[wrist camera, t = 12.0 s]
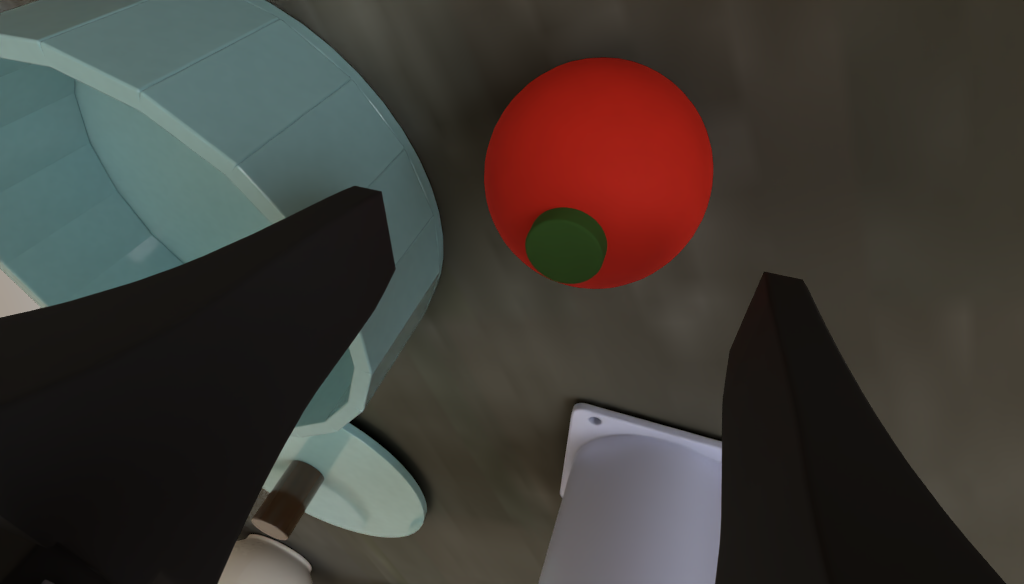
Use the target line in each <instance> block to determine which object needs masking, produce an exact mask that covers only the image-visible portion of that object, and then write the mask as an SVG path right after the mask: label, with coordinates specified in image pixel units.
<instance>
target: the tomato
mask: <svg viewBox="0 0 1024 584" xmlns="http://www.w3.org/2000/svg"><path fill="white" fill-rule="evenodd" d="M712 182H713V157H712V149H711V145H710V141H709V137H708V134H707V131H706V128H705V126H704V123H703V121H702V119H701V117H700V115H699V113H698V112H697V110H696V108H695V107H694V105H693V104H692V103H691V101H690V100H689V99H688V98H687V96H686V95H685V94H684V93H683V92H682V91H681V90H680V89H679V88H678V87H677V86H676V85H675V84H674V83H673V82H672V81H670V80H669V79H667V78H666V77H665V76H663V75H662V74H660V73H659V72H657V71H655V70H653V69H651V68H649V67H647V66H644V65H642V64H639V63H636V62H633V61H629V60H624V59H619V58H606V57H601V58H587V59H581V60H576V61H571V62H568V63H565V64H563V65H560V66H557V67H555V68H553V69H551V70H550V71H548V72H546V73H544V74H542V75H540V76H538V77H537V78H536V79H534V80H533V81H532V82H530V83H529V84H528V85H527V86H526V87H524V88H523V89H522V90H521V91H520V92H519V93H518V94H517V95H516V96H515V97H514V98H513V99H512V101H511V102H510V103H509V105H508V106H507V107H506V109H505V110H504V112H503V113H502V115H501V117H500V119H499V121H498V122H497V124H496V126H495V128H494V131H493V133H492V136H491V139H490V142H489V145H488V149H487V154H486V159H485V172H484V185H485V194H486V199H487V204H488V208H489V212H490V214H491V217H492V220H493V222H494V224H495V226H496V228H497V230H498V232H499V234H500V236H501V237H502V239H503V240H504V242H505V243H506V245H507V246H508V247H509V248H510V249H511V251H512V252H513V253H514V254H515V255H516V256H517V257H518V258H519V259H520V260H521V261H522V262H523V263H525V264H526V265H527V266H529V267H530V268H531V269H532V270H534V271H536V272H537V273H539V274H540V275H542V276H544V277H546V278H548V279H550V280H553V281H556V282H558V283H561V284H565V285H568V286H573V287H579V288H590V289H603V288H612V287H618V286H622V285H626V284H629V283H632V282H635V281H638V280H640V279H643V278H645V277H647V276H649V275H651V274H653V273H654V272H656V271H657V270H659V269H660V268H662V267H663V266H664V265H666V264H667V263H669V262H670V261H671V260H672V259H673V258H674V257H675V256H676V255H678V253H679V252H680V251H681V250H682V249H683V248H684V247H685V246H686V244H687V243H688V242H689V241H690V239H691V238H692V237H693V235H694V233H695V231H696V230H697V228H698V226H699V224H700V223H701V221H702V219H703V216H704V214H705V211H706V209H707V206H708V202H709V198H710V194H711V189H712Z"/></svg>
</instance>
